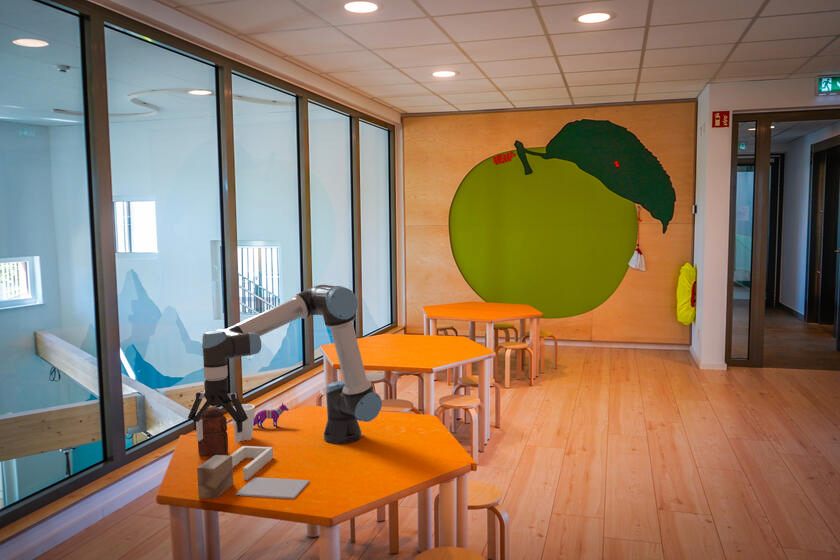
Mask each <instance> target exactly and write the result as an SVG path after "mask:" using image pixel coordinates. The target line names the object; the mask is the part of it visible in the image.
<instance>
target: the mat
mask: <svg viewBox="0 0 840 560" xmlns="http://www.w3.org/2000/svg"><path fill="white" fill-rule="evenodd" d="M310 482H311V481H310V480H309V479H295V478H294V479H292V478H291V479H290V478H278V477H277V478H276V477H275V478H272V477H258V476H257V477H256V476H255V477H253V478H252V479H250V480H249V481H248V482H247V483H246V484H245V485H244V486H243V487H241V488H240V489H239V490H238V491H237V492H236V493H235V496H237V495H240V496H239V497H255V498H270V499H271V498H272V499H285V500H286V499H287V500H289V499H290V500H295V498H297V496H298V495H299V494H301V492H302V491H303V490H304V489H305V488H306V486H308V484H309V483H310Z"/></svg>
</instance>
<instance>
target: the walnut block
mask: <svg viewBox="0 0 840 560" xmlns="http://www.w3.org/2000/svg"><path fill="white" fill-rule="evenodd" d="M233 468H234V467H232V456H230V455H227V454H225V455H212V456H211V458H209V459H208V460H206V461H205V462H203V463H202V464H200V465H199V466H197V468H196V470H197V471H196V472H197V488H198V491H197V492H198V498H199V499H211V500H212V499H213V500H217V499H218V498H220V497H221V495H223V494H224V493H225V492H226V491H227V490H228V489H230V488H231V487H232V486H233V485H234V472H233V471H234V470H233ZM229 487H230V488H229Z"/></svg>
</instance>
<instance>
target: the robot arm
mask: <svg viewBox="0 0 840 560" xmlns="http://www.w3.org/2000/svg"><path fill="white" fill-rule="evenodd" d="M291 298H292V299H290V300H287V301H285V302H283V303H280V304H279V305H276V306H274V307H272V308H270V309H267V310H266V311H263V312H261V313H258V314H256V315H253V316H252V317H250V318H247V319H245V320H243V321H241V322H238V323H236V324H234V325H231V326H229V327H227V328H226V327H225V328H222V327H221V328H218V329H216V330H210V331H206V332H204V333H203V334H202V342H201V343H202V345H201V348H202V358H203V359H202V360H203V361H202V362H203V378H204V380H203V382H204V385H203V386H204V387H203V388H204V391H202V390H200V391H198V392H195V399H194V403H193V404H192V407H191V409H190V411H189V413H188V416H187V419H188V420H191V421H192V422H193V430H194V431H196V432H195V433H196V441H197V442H198V441H200V440H202V439H203V426H202V420H199V419H201V417H202V415H203V414H204V413H205V411H206V410H207V409H208V408H210V407H217V408H220V407H222V409H225V411H226V412H227V413H228V415H230V416H231V419H232V418H233V419H234V420H235V422H236V423H234V425H233V433H234V434H233V435H234V444H239V443H240V442H242V441H241V437H240V432H242V430H243V428H242V422H244V421H246V420H247V419H248V417H247V415H246V413H245V411H244V409H243V407H242V404H241V401H240V400H239V395H238V394H239V393H238V392H236V391H235V392H233V393H232V392H231V393H229V378H228V375H229V374H228V373H229V370H228V359H232V358H239V357H246V356H249V357H250V356H253V355H257V354H259V353H260V352H261V350H262V340H261V336H264V335H266V334H268V333H270V332H272V331H274V330H276V329H278V328H280V327H283V326H285V325H288V324H289V323H291V322H293V321H297V320H298V319H300V318H301V319H306V318H309V317H310V316H322V317H323V321H324V325H325V327H328V328H329V329H330V332H331V335H332V336H331V337H332V340H333V344H334V346H335V347H334V348H335V351H336V355H337V360H338V363H339V367H340V371H341V374H342V378H343V380H339V381H338V380H337V381H333V382H330V383H328V384H327V385H326V391H325V394H326V410H327V411H326V413H327V421H326V424H325V428H324V431H323V440H324V441H325V442H328V443H330V444H338V445H339V444H348V443H349V444H350V443H354V442H357V441H359V440H360V439H361V438H362V429H361V427H360V424H359V422H365V423H368V422H371V421H373V420H375V418H377V417H378V415H379V414H380V411H381V410H382V407H383V400H382V397H381V395H380V394H378V393H377V392H376V391H374V387H373V386H374V385H373V383H372V381H370V380H369V379H367V376H366V371H365V368H364V364H363V359H362V355H361V351H360V346H359V342H358V338H357V335H356V331H355V327H354V321H355V319H356V313H357V309H358V306H359V303H358V297H357V295H355V292H354V291H352V290H351V289H349V288H347V287H345V286H341V285H329V284H319V285H315V286H313V287H310V288H308V289H305V290H302V291H301V292H299V293H297V294H294V295H293V296H292V297H291ZM203 399H205V400H206V401H205V402H204V403H203V405H202V407H201V408H200V406H201V404H202V403H201V402H202V401H203ZM229 400H231V402H230V401H229ZM233 406H234V407H235V409H236V410H235V409H234V408H233ZM199 408H200V409H199Z"/></svg>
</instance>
